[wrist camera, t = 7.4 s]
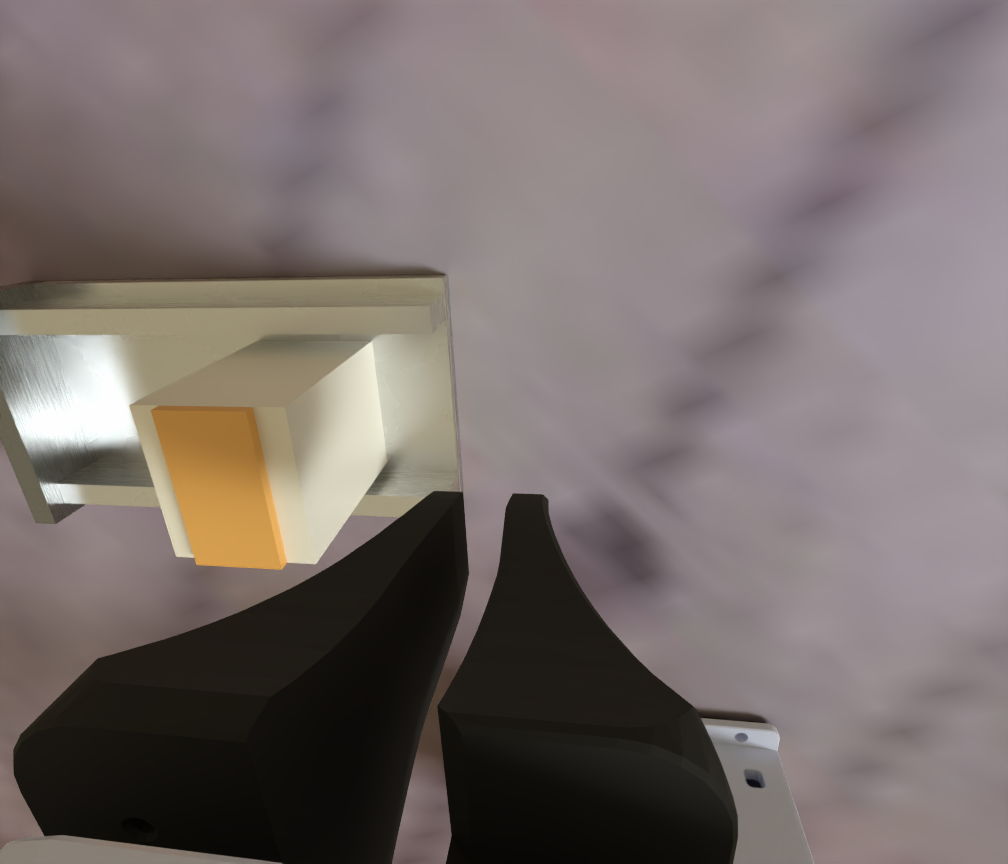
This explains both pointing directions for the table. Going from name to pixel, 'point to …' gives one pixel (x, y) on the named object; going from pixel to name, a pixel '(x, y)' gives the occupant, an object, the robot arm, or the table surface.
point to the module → (264, 451)
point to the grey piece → (194, 345)
